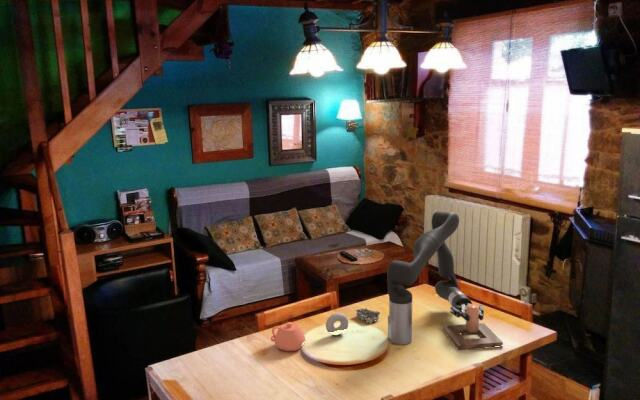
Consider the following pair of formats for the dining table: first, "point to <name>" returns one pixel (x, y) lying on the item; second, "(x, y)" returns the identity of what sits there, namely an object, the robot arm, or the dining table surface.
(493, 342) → the hole plate
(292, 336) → the sugar bowl
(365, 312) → the egg carton
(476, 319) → the peg
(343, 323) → the donut
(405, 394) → the dining table surface
